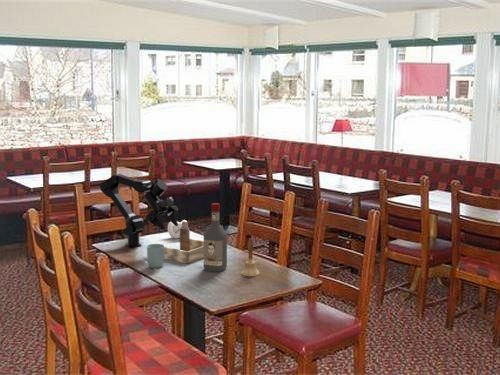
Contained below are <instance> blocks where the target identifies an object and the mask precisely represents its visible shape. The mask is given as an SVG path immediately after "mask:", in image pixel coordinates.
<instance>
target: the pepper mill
mask: <svg viewBox="0 0 500 375" xmlns="http://www.w3.org/2000/svg"><path fill="white" fill-rule="evenodd" d="M182 221H183V220H182ZM182 221H181V222H182ZM186 221H187V220H186ZM186 221H183V222H182V226H181V228H180V238H179V250H183V251H190V239H191V238H190V233H191V232H190V228H189V223H188V221H187V222H186Z"/></svg>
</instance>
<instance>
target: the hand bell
mask: <svg viewBox="0 0 500 375" xmlns="http://www.w3.org/2000/svg"><path fill="white" fill-rule="evenodd" d="M247 251H248V260H246V261H245V264H244V268H243V270H242V271H241V272H240V274H241V275H242V276H244V277H258V276H259V275H261V273H260V271H259V270H258V268H257V262H256V261H255V260H253V251H254V242H253V238H250V237H249V238H248V242H247Z"/></svg>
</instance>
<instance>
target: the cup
mask: <svg viewBox="0 0 500 375" xmlns="http://www.w3.org/2000/svg"><path fill="white" fill-rule="evenodd" d="M164 247H165V245H164V244H162V243H151V244H148V245H147V247H146V259H147V265H148V267H150V269H154V270H155V269H160V268H162V267H163V266H164V264H165V259H164V257H165V248H164Z"/></svg>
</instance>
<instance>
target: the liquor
mask: <svg viewBox="0 0 500 375" xmlns="http://www.w3.org/2000/svg"><path fill="white" fill-rule="evenodd" d="M220 207H221V205H220V203H218V202H214V203H213V202H211V223H210V225H209V227H208V228H207V229H206V230H205V232H204V234H203V241H204V258H203V268H204V270H205V271H206V272H212V273H213V272H214V273H221V272H223V271H225V270H226V269H227V267H228V266H227V265H228V260H227V259H228V233H227V231H226V230H225V229H224V227H223V226H222V225H221V223H220V210H221V208H220Z"/></svg>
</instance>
